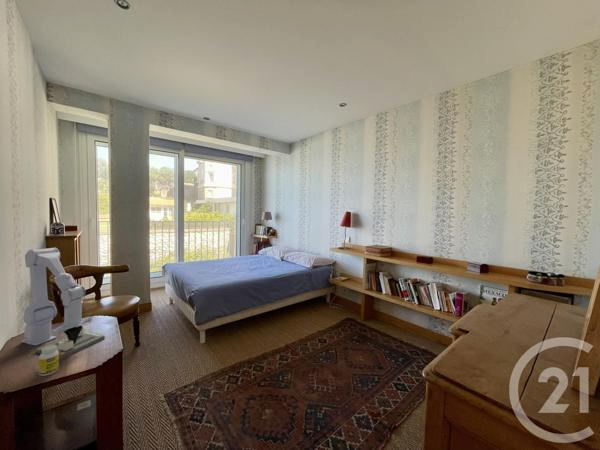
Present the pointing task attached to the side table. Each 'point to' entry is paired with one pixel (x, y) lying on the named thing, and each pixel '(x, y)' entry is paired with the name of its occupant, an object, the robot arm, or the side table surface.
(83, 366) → the side table surface
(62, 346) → the block
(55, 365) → the supplement bottle
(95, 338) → the panel
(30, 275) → the robot arm
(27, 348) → the side table surface
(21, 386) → the side table surface
